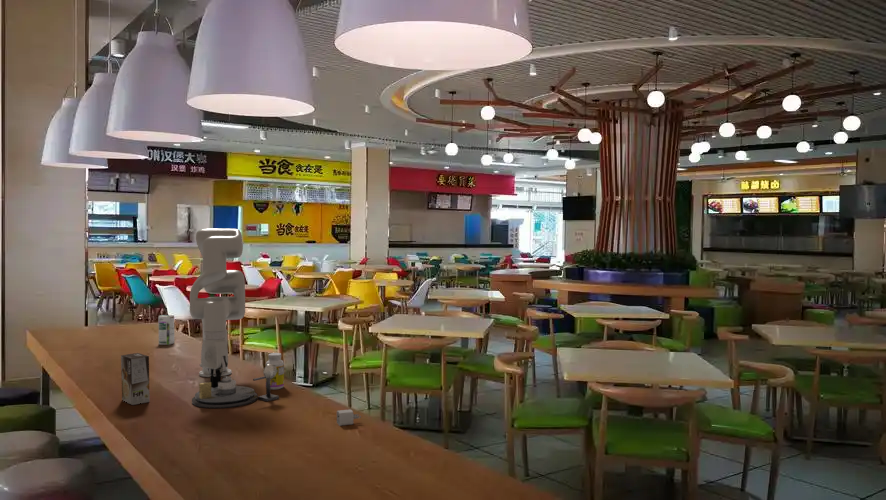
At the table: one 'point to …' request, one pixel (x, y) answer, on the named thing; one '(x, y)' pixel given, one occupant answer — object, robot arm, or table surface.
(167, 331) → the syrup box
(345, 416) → the usb wall charger
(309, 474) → the table surface
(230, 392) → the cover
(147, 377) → the coffee box
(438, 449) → the table surface
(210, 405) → the turntable base
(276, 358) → the supplement bottle
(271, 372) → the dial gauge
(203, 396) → the platter
